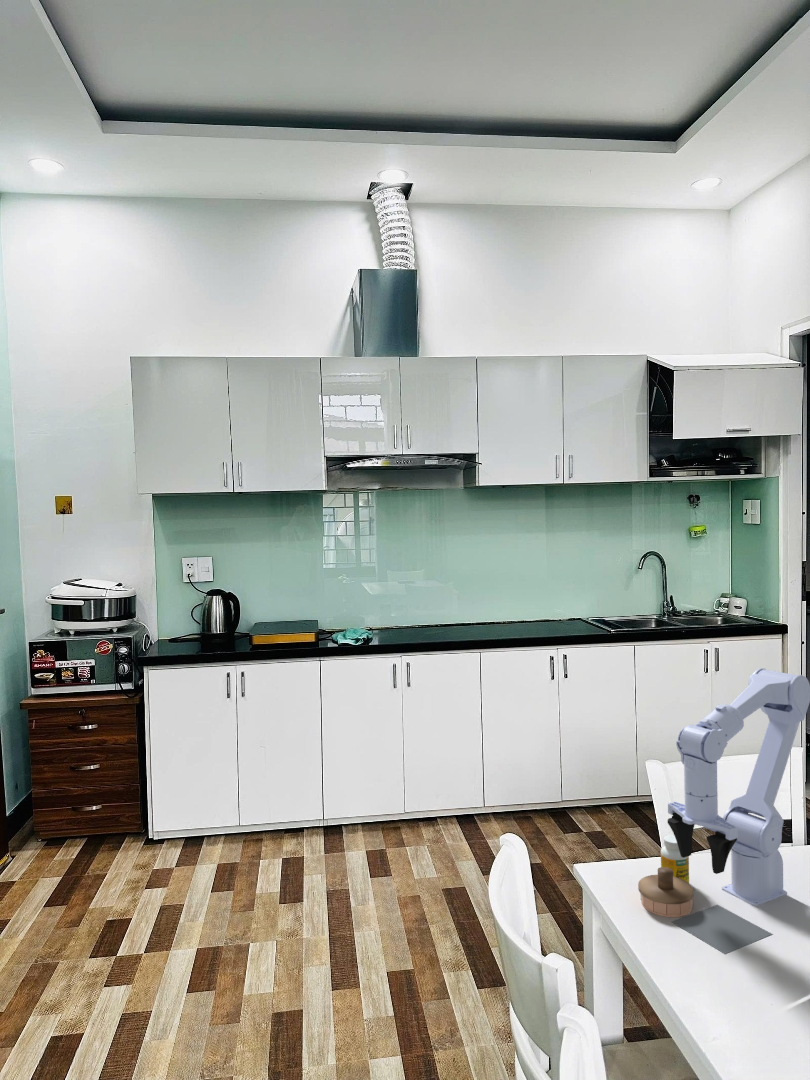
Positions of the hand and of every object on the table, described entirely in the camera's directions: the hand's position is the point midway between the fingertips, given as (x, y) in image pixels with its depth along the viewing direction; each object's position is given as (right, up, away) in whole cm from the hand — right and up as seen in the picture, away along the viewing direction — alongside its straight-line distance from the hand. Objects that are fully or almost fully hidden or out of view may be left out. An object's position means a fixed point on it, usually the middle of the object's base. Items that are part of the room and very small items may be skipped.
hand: (701, 863), depth 147 cm
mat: (+2, -10, -4) cm, 11 cm away
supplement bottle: (-1, -10, +12) cm, 16 cm away
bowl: (-5, -10, +4) cm, 12 cm away
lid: (-5, -7, +4) cm, 10 cm away
